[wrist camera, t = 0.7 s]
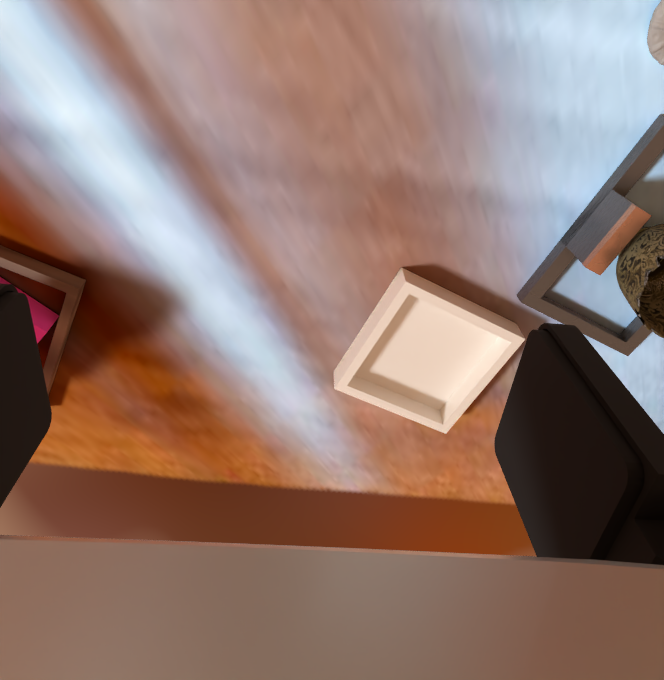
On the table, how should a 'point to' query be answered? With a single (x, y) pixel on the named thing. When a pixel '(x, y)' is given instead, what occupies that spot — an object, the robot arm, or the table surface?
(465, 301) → the tray
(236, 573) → the robot arm
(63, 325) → the brown wooden square tray
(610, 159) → the table surface
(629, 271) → the cup
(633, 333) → the frame
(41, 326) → the bracket
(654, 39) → the seahorse
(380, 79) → the table surface
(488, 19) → the table surface
